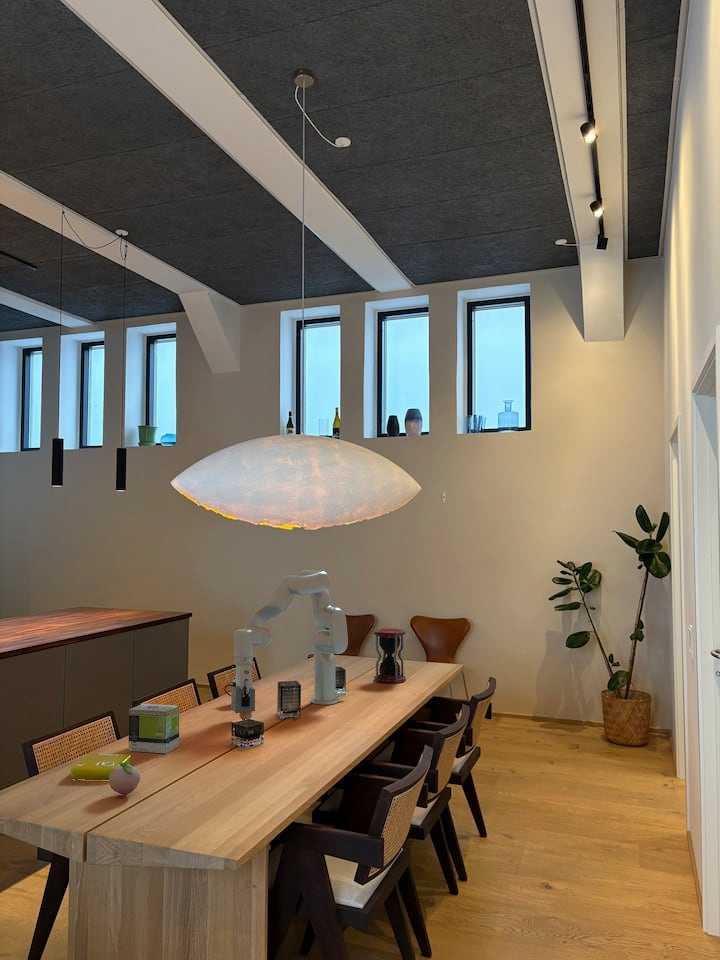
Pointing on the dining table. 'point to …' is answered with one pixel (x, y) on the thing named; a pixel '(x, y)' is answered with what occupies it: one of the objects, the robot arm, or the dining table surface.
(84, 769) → the element tile
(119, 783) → the decorative fruit
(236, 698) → the grey block
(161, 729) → the tea box
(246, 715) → the ball
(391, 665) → the hourglass
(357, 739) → the dining table surface
